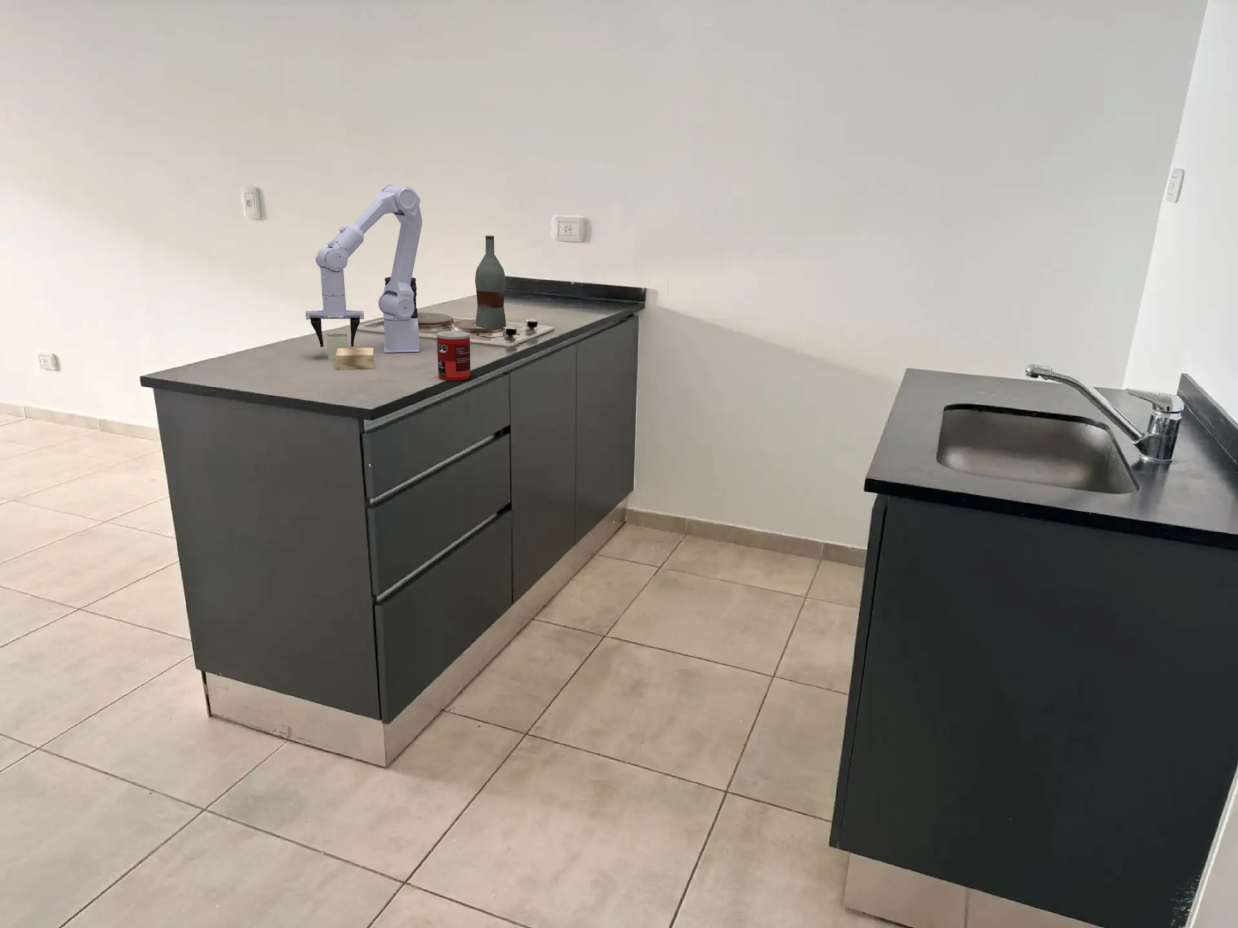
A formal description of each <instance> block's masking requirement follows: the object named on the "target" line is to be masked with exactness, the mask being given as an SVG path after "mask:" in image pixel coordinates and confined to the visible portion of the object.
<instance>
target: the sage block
mask: <svg viewBox="0 0 1238 928" xmlns="http://www.w3.org/2000/svg"><path fill="white" fill-rule="evenodd" d="M348 344H349V343H348V334H347V333H327V334H326V346H327V361H336V353H337V348H349V347H348Z"/></svg>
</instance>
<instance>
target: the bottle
mask: <svg viewBox="0 0 1238 928" xmlns="http://www.w3.org/2000/svg"><path fill="white" fill-rule="evenodd" d="M484 238H485V254H484V256H483V257H482V259H481V260H480V263H479V264H478V266H477V267H476V271H475V275H474V278H475V279H474V282H475V284H474V285H475V291H476V292H475V293H476V303H477V305H476V306H477V307H476V316H475V327H476V326H478V327H482V328H485V329H494V330H497V329H501V328H503V327H505V326H506V325H507V320H506V319H507V318H506V313H505V290H506V274H505V270H504V267H503V265H502V264H501V263H500V261H499V260H498V258H497V256H496V254H495V236H494V235H489V234H488V235H487V234H486V235H485V236H484ZM505 328H506V327H505Z"/></svg>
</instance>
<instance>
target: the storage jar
mask: <svg viewBox="0 0 1238 928" xmlns="http://www.w3.org/2000/svg"><path fill="white" fill-rule="evenodd" d="M390 280H391V276H389V277H384V287H385V286H386V285H387V284H388V283H389V282H390ZM416 282H417V278H416V277H413V276H412V279H411V284H410V286H411V289H412V291H413V293H414V298H413V301H414V306H415V308H414V312H413V314H412V316H411V318H417V319H418V318H419V314H418V307H417V295H418V293H417V291H418V290H417V289H418V288H417V283H416Z"/></svg>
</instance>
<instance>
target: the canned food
mask: <svg viewBox="0 0 1238 928" xmlns="http://www.w3.org/2000/svg"><path fill="white" fill-rule="evenodd" d="M436 346H437V347H436V352H437V355H436V356H437V375H438V377H439V379H441V380H444V381H452V382H458V381H459V382H460V381H465V380H468V379H470V377H471V336H470V333H469V332H466V331H461V330H443V331H439V332H437V333H436Z"/></svg>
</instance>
